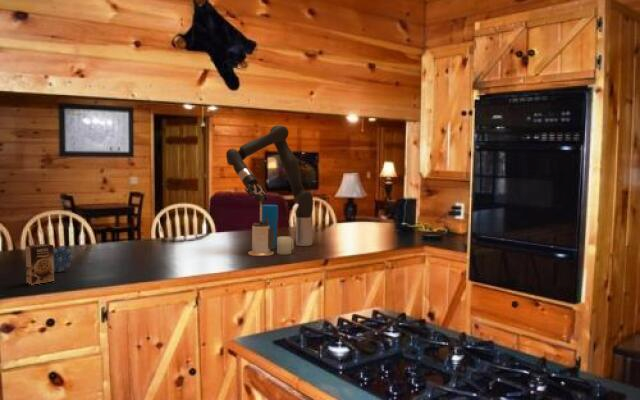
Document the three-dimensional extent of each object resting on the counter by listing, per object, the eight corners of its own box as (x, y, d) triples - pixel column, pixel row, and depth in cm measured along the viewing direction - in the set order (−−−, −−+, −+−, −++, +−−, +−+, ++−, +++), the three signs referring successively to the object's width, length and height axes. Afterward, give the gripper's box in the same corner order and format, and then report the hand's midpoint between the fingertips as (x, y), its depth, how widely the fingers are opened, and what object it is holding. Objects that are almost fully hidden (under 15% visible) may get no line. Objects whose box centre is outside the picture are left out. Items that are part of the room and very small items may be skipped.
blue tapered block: (274, 249, 316) (275, 206, 313) (257, 248, 318) (257, 205, 316) (279, 246, 326) (280, 204, 324) (262, 245, 328) (263, 204, 326)
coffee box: (32, 286, 223) (30, 247, 222) (26, 283, 227) (24, 245, 226) (54, 282, 230) (53, 244, 228) (48, 279, 234) (47, 243, 233)
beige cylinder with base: (266, 250, 310) (266, 221, 308) (278, 254, 298) (278, 224, 297) (244, 252, 302) (244, 223, 301) (255, 257, 290) (255, 226, 289)
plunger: (263, 232, 303) (263, 193, 301) (267, 233, 298) (267, 194, 297) (254, 233, 300) (254, 194, 298) (259, 234, 296) (259, 194, 294)
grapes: (72, 269, 256) (71, 244, 255) (74, 272, 250) (73, 246, 249) (44, 271, 250) (44, 246, 249) (45, 274, 244) (45, 248, 243)
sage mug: (288, 251, 309) (288, 235, 308) (296, 253, 302) (296, 237, 302) (274, 252, 304) (274, 236, 303) (281, 255, 297) (281, 238, 296)
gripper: (241, 173, 295) (258, 196, 289) (259, 173, 307) (275, 195, 301) (235, 183, 299) (250, 206, 293) (253, 182, 310) (268, 204, 304)
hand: (263, 200), depth 297 cm, fingers open, 5 cm apart
